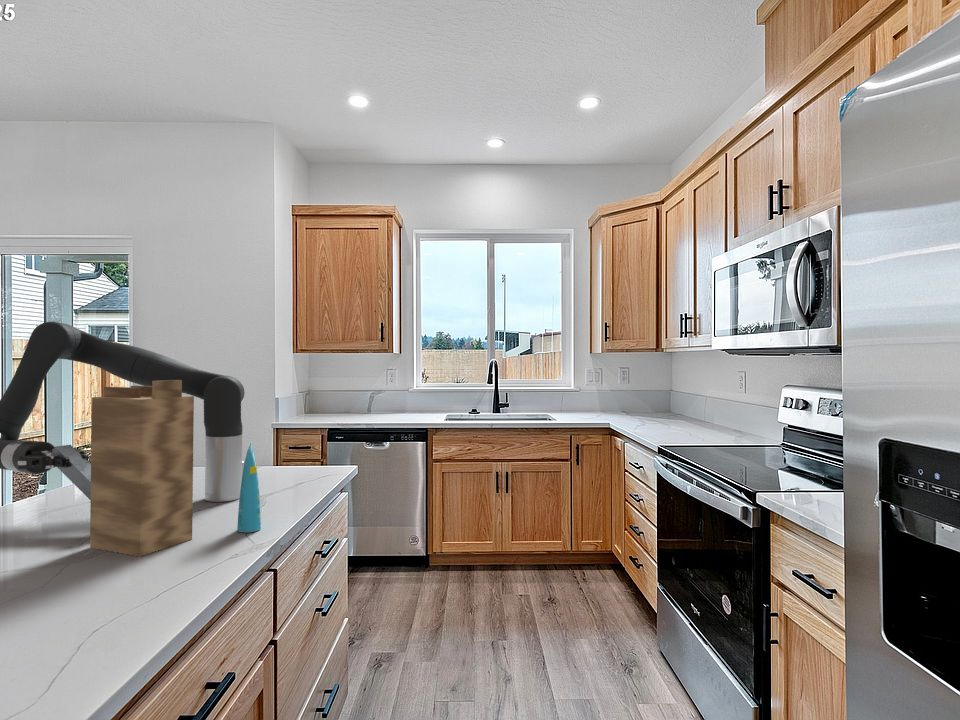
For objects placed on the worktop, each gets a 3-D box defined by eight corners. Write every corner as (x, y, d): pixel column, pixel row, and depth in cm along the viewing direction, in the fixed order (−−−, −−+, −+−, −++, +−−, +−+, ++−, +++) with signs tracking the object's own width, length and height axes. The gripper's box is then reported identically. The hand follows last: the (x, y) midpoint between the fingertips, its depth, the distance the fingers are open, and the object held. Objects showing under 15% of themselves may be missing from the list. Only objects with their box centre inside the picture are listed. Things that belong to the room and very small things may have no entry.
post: (144, 531, 127) (146, 378, 127) (192, 539, 122) (193, 379, 122) (89, 547, 116) (91, 379, 116) (139, 556, 110) (141, 381, 111)
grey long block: (70, 456, 135) (76, 440, 134) (123, 508, 128) (130, 492, 127) (44, 460, 130) (51, 443, 129) (99, 514, 123) (106, 497, 122)
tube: (262, 533, 126) (263, 445, 126) (238, 535, 124) (239, 446, 124) (259, 524, 133) (259, 440, 133) (236, 526, 131) (237, 441, 131)
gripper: (-6, 444, 130) (43, 448, 123) (60, 437, 143) (108, 440, 137) (-6, 478, 130) (43, 483, 123) (60, 467, 143) (108, 472, 136)
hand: (77, 461), depth 130 cm, fingers closed on grey long block, 3 cm apart
